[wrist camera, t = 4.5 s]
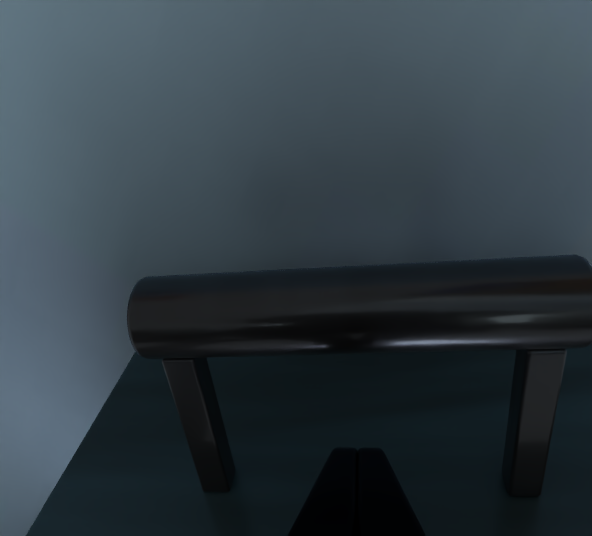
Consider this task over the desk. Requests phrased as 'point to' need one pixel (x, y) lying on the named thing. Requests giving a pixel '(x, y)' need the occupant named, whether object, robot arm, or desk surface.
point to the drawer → (345, 400)
